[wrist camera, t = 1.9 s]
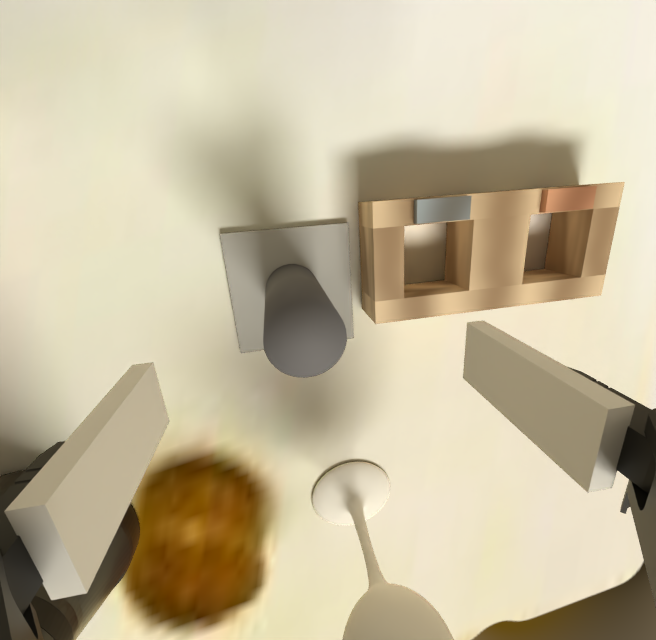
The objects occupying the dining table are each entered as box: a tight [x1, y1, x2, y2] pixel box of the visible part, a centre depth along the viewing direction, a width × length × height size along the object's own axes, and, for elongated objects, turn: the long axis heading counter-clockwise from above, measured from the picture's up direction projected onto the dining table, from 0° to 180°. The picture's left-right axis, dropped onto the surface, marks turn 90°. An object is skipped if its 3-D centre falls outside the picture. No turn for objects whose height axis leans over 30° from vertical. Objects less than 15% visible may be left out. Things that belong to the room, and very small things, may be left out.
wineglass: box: [312, 462, 454, 640], centre depth 27 cm, size 9×9×21 cm
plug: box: [263, 264, 347, 377], centre depth 23 cm, size 4×4×11 cm
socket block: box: [358, 182, 625, 324], centre depth 27 cm, size 20×9×5 cm, turn 95°
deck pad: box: [220, 223, 354, 353], centre depth 28 cm, size 10×10×1 cm
